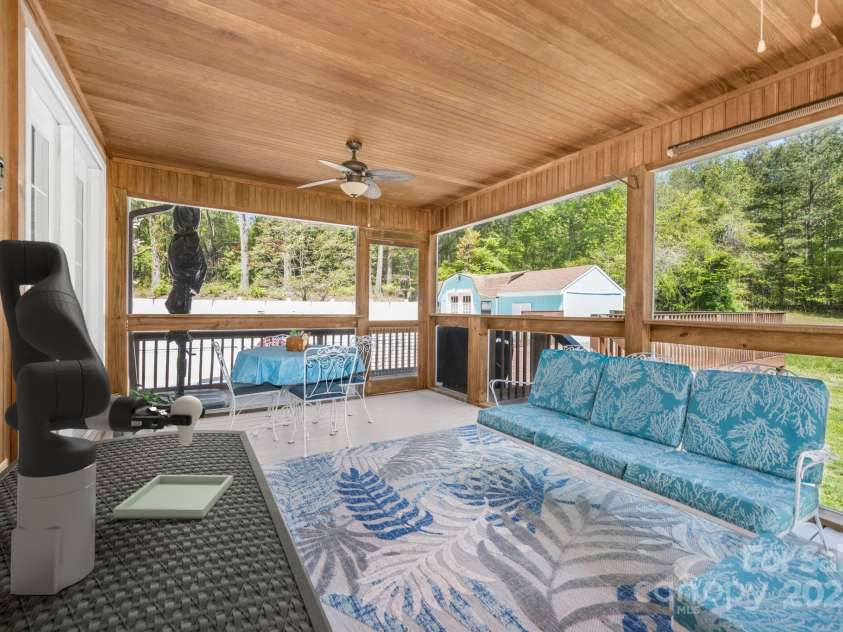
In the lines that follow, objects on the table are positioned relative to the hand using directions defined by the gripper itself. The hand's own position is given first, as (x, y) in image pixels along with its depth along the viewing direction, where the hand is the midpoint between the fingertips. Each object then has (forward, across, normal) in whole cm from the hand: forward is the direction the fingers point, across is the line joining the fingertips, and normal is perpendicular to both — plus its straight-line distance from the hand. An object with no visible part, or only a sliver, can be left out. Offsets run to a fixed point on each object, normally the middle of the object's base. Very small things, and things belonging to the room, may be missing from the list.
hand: (198, 416), depth 94 cm
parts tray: (-3, -2, +18) cm, 18 cm away
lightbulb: (-2, 0, +7) cm, 7 cm away
